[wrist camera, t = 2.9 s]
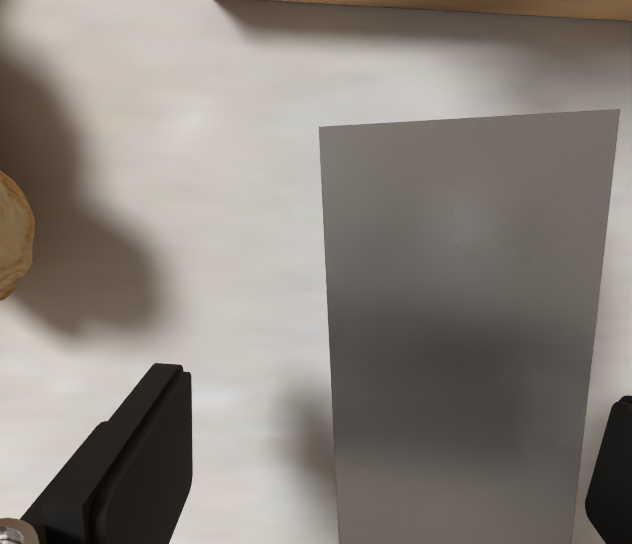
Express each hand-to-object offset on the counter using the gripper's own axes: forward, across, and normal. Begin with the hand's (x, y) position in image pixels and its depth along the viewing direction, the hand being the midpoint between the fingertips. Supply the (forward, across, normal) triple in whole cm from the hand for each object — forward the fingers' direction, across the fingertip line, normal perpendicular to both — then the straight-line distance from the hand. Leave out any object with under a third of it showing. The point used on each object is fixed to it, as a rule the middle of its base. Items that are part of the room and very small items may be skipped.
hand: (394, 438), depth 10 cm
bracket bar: (+4, -1, 0) cm, 4 cm away
